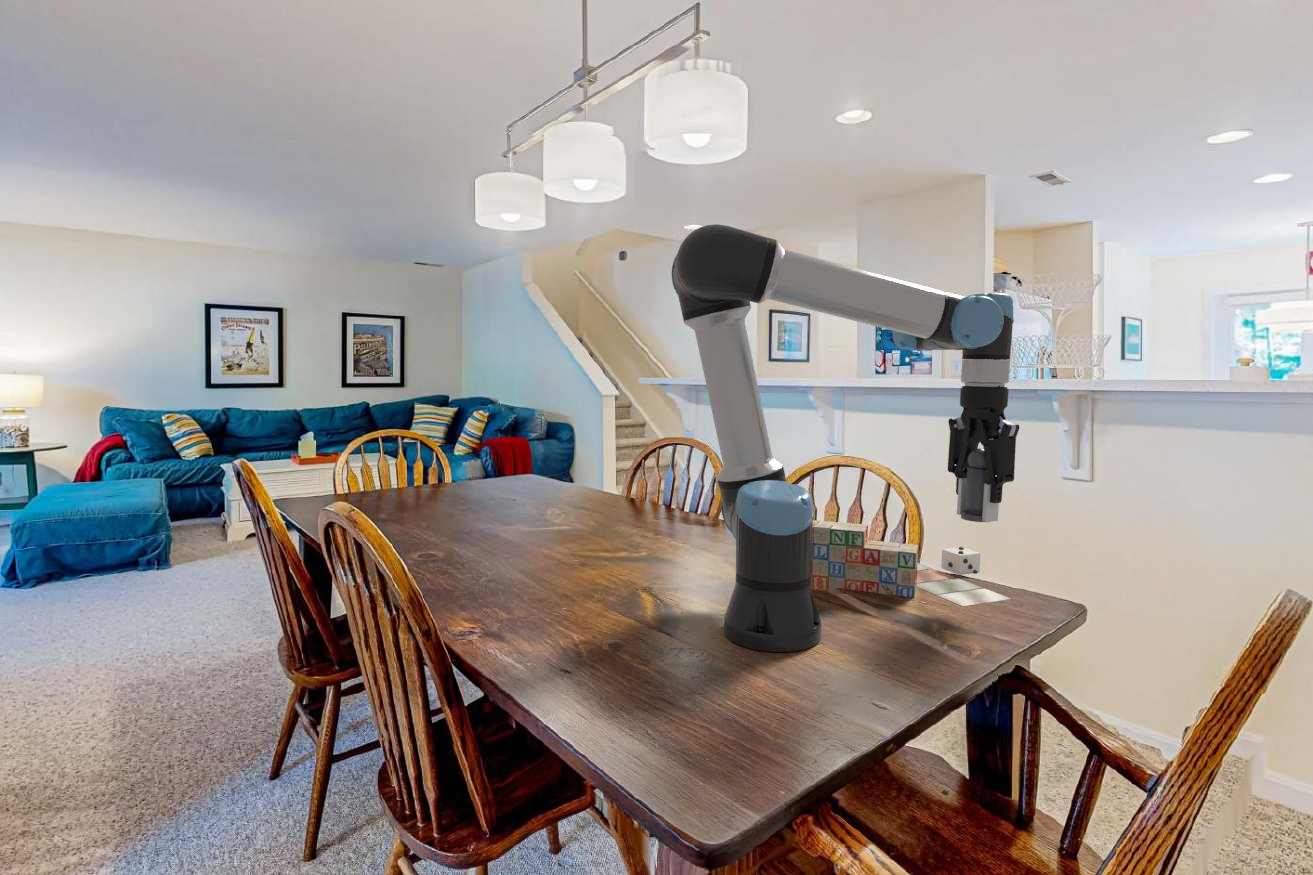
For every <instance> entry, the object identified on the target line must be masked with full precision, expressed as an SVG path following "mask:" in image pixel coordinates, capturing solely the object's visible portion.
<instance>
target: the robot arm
mask: <svg viewBox="0 0 1313 875" xmlns="http://www.w3.org/2000/svg"><path fill="white" fill-rule="evenodd" d="M671 282H672V286H673V289H674V290H675V292H676V295H677V296H678V302H679V306H680V310H681V311H680V312H681V316H682V319H683V323H684V325H686V326H687V327H689V328H691V329H692V330H693V331H694V333H695V338H696V343H697V348H698V353H699V357H700V361H701V366H702V371H703V375H704V376H703V377H704V381H705V385H706V390H707V395H708V399H709V404H710V409H711V412H712V413H711V414H712V417H713V418H712V419H713V424H714V427H715V431H716V437H717V438H716V439H717V442H718V446H719V451H720V456H721V460H722V465H723V466H722V468H721V470H720V472H719V473H718V475H717V476H716V479H717V484H718V488H719V493H720V498H721V504H720V505H721V509H720V510H721V515H722V519H723V522H724V524H725V526H726V527H727V529H728V530H729V531H730V533H731V534H732V535H733V538H734V540H735V584H734V588H733V591H732V593H731V596H730V599H729V603H728V606H727V609H726V612H725V614H724V617H723V618H724V619H723V633H724V635H725V637H726V638H727V639H728V640H730V641H732V642H733V643H735V644H737V645H739V646H741V647H745V648H747V649H752V650H755V651H762V652H763V651H764V652H771V653H772V652H773V653H790V652H798V651H804V650H807V649H810V648H813V647H814V646H816V645H817V644H818V643H819V642H820V641H821V640H822V620H821V617H820V614H819V610H818V607H817V604H816V600H815V597H814V594H813V590H811V562H812V524H813V519H814V516H815V511H814V510H815V509H814V507H813V497H812V495H811V493H810V492H809V490H807V488H805V487H803V486H801V485H800V484H797V483H795V484H793V483H791V482H789V481H787V478H786V472H785V468H784V464H783V462H781V461H779V460H778V459H776V458H775V457H774V456H773V454H772V450H771V449H772V448H771V445H770V444H771V443H770V438H769V434H768V430H767V424H766V420H765V416H764V411H763V410H764V409H763V404H762V400H761V395H760V390H759V385H758V381H757V375H756V371H755V365H754V360H753V356H752V351H751V350H752V349H751V346H750V341H749V336H748V331H747V326H746V317H747V315H748V314H749V312H750V311H751V309H752V304H751V302H752V303H755V304H761V303H763V302H765V301H766V300H771V301H774V302H779V303H783V304H785V305H786V304H787V305H790V306H791V305H792V306H795V307H799V308H803V309H807V310H812V311H815V312H819V313H823V314H826V315H831V316H835V317H839V318H842V319H846V320H850V321H854V322H857V323H862V324H866V325H870V326H873V327H878V328H881V329H886V330H890V331H892V339H893V342H894V343H895V346H896V347H897V348H898V349H901V350H912V351H917V350H919V351H922V350H923V351H943V350H944V351H949V350H951V351H962V352H961V353H962V356H961V357H962V358H961V360H962V362H961V372H960V373H961V374H960V382H961V383H964V385H962V386H961V387H960V393H959V394H960V396H959V405H960V407H962V408H963V410H962V412H961V415H960V416H958V417H951V418H949V419H948V428H949V443H948V458H947V472H948V473H952V474H953V475H954V476H955V477H956V478H955V479H956V482H955V486H956V487H955V493H956V495H957V502H956V503H957V504H956V505H957V506H956V515H958V516H961V511H965V499H966V481H967V467H970V466H969V464H968V456H969V454H970V453H971V452H972V451H973V450H975V449H978V447H979V444H981V445H982V446H983V449H984V454H985V460H986V467H987V474H988V481H986V482H985V483H986V484H984V498H983V515H982V521H984V522H983V523H990V522H991V521H992V522H998V520H999V508H1000V506H999V504H1000V503H1002V500H1003V487H1004V485H1005V484H1006V483H1011V482H1014V480H1015V468H1016V466H1015V464H1016V446H1017V436H1018V434H1019V430H1020V425H1019V424H1018V423H1011V422H1009V421H1008V420H1006V416H1005V409H1006V408H1007V407H1008V406H1009V405H1008V404H1009V391H1010V390H1009V388H1008V386H1005V385H1006V384H1008V383H1009V381H1010V368H1011V367H1010V366H1011V353H1012V352H1011V350H1012V339H1013V326H1014V325H1013V324H1014V322H1015V320H1014V301H1013V300H1014V299H1013V298H1012V296H1011V295H1010V294H1008V293H1005V292H1004V293H1000V292H990V293H989V292H987V293H985V292H983V293H974V294H973V293H972V294H969V295H967V296H962V295H959V294H954V293H951V292H947V291H944V290H940V289H935V288H933V287H929V286H924V285H922V284H918V283H914V282H910V281H905V280H901V279H898V278H894V277H890V276H886V275H883V274H878V273H876V272H872V271H871V272H870V271H868V270H864V269H861V268H856V267H852V266H848V265H845V264H841V263H837V262H834V261H830V260H826V259H822V258H818V257H814V256H811V255H807V254H803V253H799V252H795V251H792V250H788V249H784V248H783V247H782V245H781V243H780V242H779V240H777V239H774V238H772V237H771V238H770V237H767V236H763V235H760V234H756V233H754V232H750V231H748V230H747V231H746V230H744V229H739V228H736V227H732V226H729V225H723V224H707V225H703V226H701V227H698V228H696V229H695V230H693V231H691V232H690V233H689V234H688V235H687V236H686V237H685V238H684V239H683V241H682V242H681V244H680V246H679V248H678V250H677V253H676V255H675V257H674V260H673V263H672V268H671Z"/></svg>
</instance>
